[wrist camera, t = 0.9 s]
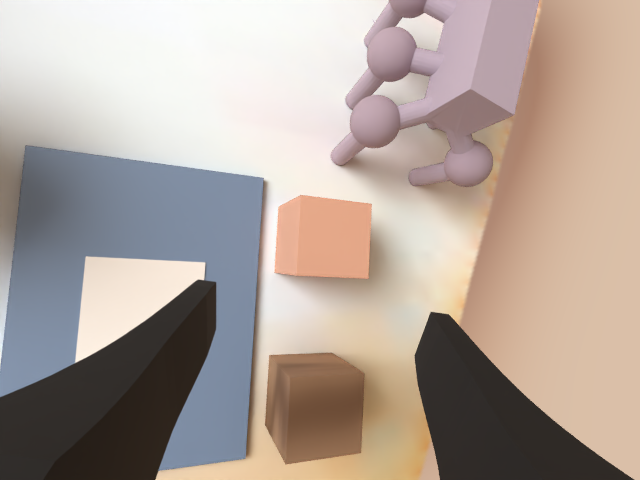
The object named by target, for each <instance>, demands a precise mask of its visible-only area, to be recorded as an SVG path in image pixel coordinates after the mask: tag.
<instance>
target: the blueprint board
mask: <svg viewBox="0 0 640 480" xmlns="http://www.w3.org/2000/svg"><path fill="white" fill-rule="evenodd" d="M263 179H264V178H260V177H253V176H245V175H238V174H231V173H224V172H216V171H209V170H202V169H195V168H187V167H180V166H173V165H165V164H158V163H151V162H144V161H136V160H129V159H122V158H114V157H107V156H100V155H93V154H85V153H78V152H71V151H64V150H56V149H49V148H42V147H34V146H27V145H26V146H25V155H24V164H23V173H22V182H21V191H20V199H19V208H18V217H17V226H16V235H15V244H14V252H13V261H12V270H11V279H10V288H9V297H8V305H7V314H6V323H5V332H4V341H3V350H2V358H1V367H0V397H2V396H4V395H7V394H9V393H11V392H14V391H16V390H19V389H21V388H23V387H26V386H28V385H30V384H33V383H35V382H37V381H39V380H42V379H44V378H46V377H48V376H50V375H52V374H54V373H56V372H58V371H60V370H62V369H64V368H66V367H68V366H70V365H72V364H74V363H76V362H78V361H80V360H82V359H84V358H86V357H88V356H90V355H92V354H93V353H95V352H97V351H99V350H100V349H102V348H104V347H106V346H107V345H109V344H111V343H112V342H114V341H116V340H117V339H119V338H120V337H122V336H123V335H125V334H126V333H128V332H129V331H131V330H132V329H134V328H135V327H136V326H138V325H139V324H141V323H142V322H144V321H145V320H147V319H148V318H149V317H151V316H152V315H153V314H155V313H156V312H157V311H159V310H160V309H161V308H162V307H164V306H165V305H166V304H168V303H169V302H170V301H171V300H173V299H174V298H175V297H176V296H178V295H179V294H180V293H181V292H183V291H184V290H185V289H186V288H187V287H189V286H190V285H191V284H192V283H194V282H195V281H196V280H198V279H199V280H206V281H213V282H216V331H215V335H214V338H213V341H212V344H211V347H210V350H209V353H208V356H207V358H206V360H205V362H204V365H203V367H202V369H201V371H200V373H199V375H198V377H197V380H196V382H195V384H194V386H193V388H192V390H191V392H190V394H189V396H188V398H187V401H186V403H185V405H184V407H183V409H182V411H181V413H180V415H179V417H178V420H177V422H176V424H175V427H174V429H173V432H172V434H171V437H170V440H169V442H168V445H167V448H166V451H165V453H164V456H163V459H162V462H161V464H160V467H159V470H158V471H160V470H167V469H175V468H182V467H189V466H196V465H203V464H211V463H218V462H225V461H232V460H239V459H245V458H246V442H247V427H248V411H249V396H250V380H251V365H252V349H253V334H254V318H255V303H256V287H257V272H258V256H259V241H260V225H261V210H262V194H263Z"/></svg>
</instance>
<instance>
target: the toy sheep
mask: <svg viewBox="0 0 640 480" xmlns="http://www.w3.org/2000/svg"><path fill="white" fill-rule="evenodd" d="M538 3H539V0H389V3H388V4H387V6H386V7H385V9H384V10H383V11H382V13H381V14H380V16H379V17H378V19H377V20H376V22H374V25H373V26H372V28H371V29H370V30H369V32H368V33H367V35H366V36H365V38H364V42H365V45H366V46H367V47H368V51H367V62H368V66H369V68H368V69H367V70H366V72H365V73H364V74H363V75H362V77H361V78H360V79H359V80H358V82H357V83H356V84H355V85H354V87H353V88H352V89H351V91H350V92H349V93H348V94H347V96H346V98H345V101H346V104H347V105H348V106H349V107H350V108H352V109H353V111H352V114H351V117H350V129H351V132H350V133H349V134H348V135H347V136H346V137H345V138H344V139H343V140H342V141H341V142H340V143H339V144H338V145H337V146H336V147H335V148H334V149H333V150H332V152H331V159H332V161H333V162H334V163H336V164H338V165H344V164H345V163H347V162H348V161H349V160H350V159H352V158H353V157H354V156H355V155H356V154H358V153H359V152H360V151H361V150H362V149H364V148H365V147H368V148H380V147H383V146H385V145H387V144H389V143H390V142H391V141H393V139H394V138H395V137H396V136H397V134H398V132H399V130H401V129H404V128H408V127H412V126H415V125H419V124H422V123H426V122H427V125H428V126H429V128H431V129H436V128H438V129H440V130H442V131H444V132H446V135H447V138H448V141H449V144H450V147H451V149H450V150H449V151H448V153H447V155H446V157H445V160H444V162H443V163H438V164H434V165H430V166H425V167H421V168H416V169H413V170H412V171H411V172H410V174H409V181H410V183H411V184H412V185H413V186H419V185H425V184H432V183H438V182H445V181H452V182H453V183H454V184H456V185H459V186H464V187H469V186H474V185H477V184H479V183H481V182H482V181H484V180H485V179H486V178H487V177H488V175H489V174H490V172H491V170H492V166H493V157H492V154H491V152H490V150H489V149H488V148H487V147H486V146H485V145H484V144H482V143H480V142H478V141H474V140H473V139H472V135H471V133H474V132H476V131H478V130H481V129H483V128H485V127H488V126H490V125H492V124H495V123H497V122H499V121H502V120H504V119H506V118H509V117H511V116H513V115H514V114H515V110H516V105H517V100H518V96H519V91H520V86H521V82H522V77H523V72H524V68H525V63H526V58H527V54H528V49H529V45H530V40H531V35H532V31H533V26H534V21H535V17H536V12H537V7H538ZM423 13H426V14H428V15H430V16H432V17H434V18H435V19H437V20H439V21H441V22H443V23H444V26H443V30H442V34H441V37H440V41H439V45H438V49H437V52H435V51H430V50H426V49H421V48H417V46H416V43H415V40H414V38H413V37H412V35H411V34H410V33H409V32H408V31H406V30H405V29H403V28H400V27H395V26H396V25H397V24H398V23H399V21H400V20H401V19H402V17H404V18H414V17H417V16H419V15H421V14H423ZM373 21H374V20H373ZM409 72H412V73H416V74H421V75H425V76H430V80H429V84H428V87H427V91H426V95H425V98H424V99H421V100H417V101H414V102H410V103H407V104H403V105H399V106H396V104H395V103H394V102H393V101H392V100H390V99H389V98H387V97H385V96H381V95H372V94H373V93H374V92H375V91H376V90H377V89H378V88H379V87H380V85H381V84H382V83H383V82H384V81H386V82H393V81H397V80H400V79H402V78H403V77H405V76H406V75H407V74H408V73H409ZM371 95H372V96H371Z"/></svg>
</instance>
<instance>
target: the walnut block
mask: <svg viewBox="0 0 640 480" xmlns="http://www.w3.org/2000/svg"><path fill="white" fill-rule="evenodd" d="M363 394H364V373H363V372H362V371H360V370H359V369H357V368H355V367H354V366H352V365H350V364H349V363H347V362H346V361H344V360H342V359H341V358H339V357H338V356H336V355H334V354H333V353H313V354H287V355H269V370H268V386H267V403H266V419H265V426H266V427H267V429H268V431H269V433H270V435H271V437H272V439H273V441H274V443H275V445H276V447H277V449H278V451H279V453H280V455H281V456H282V458H283V460H284V462H285V464H291V463H298V462H304V461H311V460H318V459H324V458H331V457H338V456H344V455H351V454H358V453H361V441H362V418H363Z"/></svg>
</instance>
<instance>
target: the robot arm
mask: <svg viewBox="0 0 640 480" xmlns="http://www.w3.org/2000/svg"><path fill="white" fill-rule="evenodd" d="M215 331H216V282H213V281H206V280H199V279H198V280H196V281H195V282H194V283H192V284H191V285H190V286H189V287H187V288H186V289H185V290H184V291H183V292H181V293H180V294H179V295H178V296H176V297H175V298H174V299H173V300H171V301H170V302H169V303H168V304H166V305H165V306H164V307H162V308H161V309H160V310H159V311H157V312H156V313H155V314H153V315H152V316H151V317H149V318H148V319H147V320H145V321H144V322H142V323H141V324H139V325H138V326H136V327H135V328H134V329H132V330H131V331H129V332H128V333H126V334H125V335H123V336H122V337H120V338H119V339H117V340H116V341H114V342H112V343H111V344H109V345H107V346H106V347H104V348H102V349H100V350H99V351H97V352H95V353H93V354H92V355H90V356H88V357H86V358H84V359H82V360H80V361H78V362H76V363H74V364H72V365H70V366H68V367H66V368H64V369H62V370H60V371H58V372H56V373H54V374H52V375H50V376H48V377H46V378H44V379H42V380H39V381H37V382H35V383H33V384H30V385H28V386H26V387H23V388H21V389H19V390H16V391H14V392H11V393H9V394H7V395H4V396H2V397H0V480H155V479H156V476H157V473H158V470H159V467H160V464H161V462H162V459H163V456H164V453H165V451H166V448H167V445H168V442H169V440H170V437H171V434H172V432H173V429H174V427H175V424H176V422H177V420H178V417H179V415H180V413H181V411H182V409H183V407H184V405H185V403H186V401H187V398H188V396H189V394H190V392H191V390H192V388H193V386H194V384H195V382H196V380H197V377H198V375H199V373H200V371H201V369H202V367H203V365H204V362H205V360H206V358H207V356H208V353H209V350H210V347H211V344H212V341H213V338H214V335H215ZM415 364H416V373H417V381H418V387H419V391H420V395H421V399H422V403H423V407H424V411H425V415H426V419H427V423H428V427H429V431H430V435H431V438H432V442H433V446H434V450H435V454H436V459H437V464H438V470H439V476H440V480H634V479H632V478H631V477H629V476H628V475H626V474H625V473H624V472H622V471H620V470H619V469H618V468H616V467H615V466H613V465H612V464H610V463H609V462H607V461H606V460H605V459H603V458H602V457H600V456H599V455H597V454H596V453H595V452H594V451H592V450H591V449H589V448H588V447H587V446H585V445H584V444H583V443H581V442H580V441H579V440H578V439H576V438H575V437H574V436H572V435H571V434H570V433H569V432H567V431H566V430H565V429H563V428H562V427H561V426H560V425H558V424H557V423H556V422H555V421H553V420H552V419H551V418H550V417H549V416H547V415H546V414H545V413H544V412H543V411H542V410H541V409H540V408H538V407H537V406H536V405H535V404H534V403H533V402H532V401H530V400H529V399H528V398H527V397H526V396H525V395H524V394H523V393H522V392H521V391H520V390H519V389H517V387H516V386H515V385H514V384H512V382H511V381H510V380H508V378H507V377H506V376H504V375H503V374H502V372H501V371H500V370H499V369H498V368H497V367H496V366H495V365H494V364H493V363H492V362H491V361H490V360H489V359H488V358H487V357H486V355H485V354H484V353H483V352H482V351H481V350H480V349H479V348H478V347H477V345H475V343H474V342H473V341H472V340H471V339H470V338H469V336H468V335H467V334H466V333H465V332H464V331H463V330H462V328H461V327H460V326H459V325H458V324H457V323H456V322H455V321H454V319H453V318H452V317H451V316H450V315H449V314H442V313H435V312H431V313H430V316H429V318H428V321H427V324H426V326H425V329H424V332H423V334H422V337H421V340H420V343H419V345H418V348H417V351H416V353H415Z"/></svg>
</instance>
